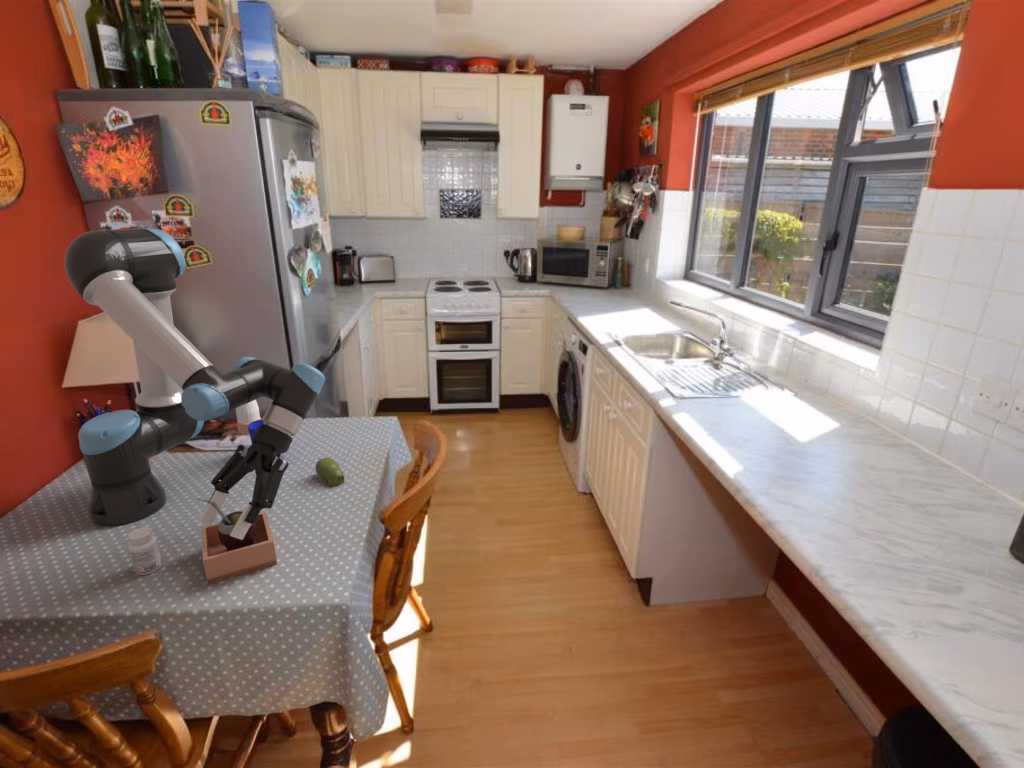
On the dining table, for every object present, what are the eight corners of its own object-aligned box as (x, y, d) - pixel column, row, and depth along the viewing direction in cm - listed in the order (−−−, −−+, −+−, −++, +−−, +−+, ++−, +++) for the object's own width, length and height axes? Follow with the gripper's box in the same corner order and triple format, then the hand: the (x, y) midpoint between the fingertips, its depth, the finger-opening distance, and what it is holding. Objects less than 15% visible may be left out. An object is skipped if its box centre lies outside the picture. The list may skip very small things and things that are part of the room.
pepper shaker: (233, 433, 169) (223, 376, 162) (247, 424, 176) (238, 369, 169) (253, 435, 168) (244, 378, 161) (267, 426, 174) (259, 371, 168)
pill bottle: (143, 560, 110) (134, 526, 107) (167, 559, 110) (159, 525, 107) (129, 576, 105) (119, 540, 102) (154, 575, 106) (145, 539, 103)
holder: (207, 584, 103) (202, 560, 102) (205, 549, 114) (201, 527, 112) (277, 563, 110) (273, 541, 108) (269, 532, 120) (265, 511, 118)
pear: (330, 451, 146) (350, 469, 140) (330, 467, 148) (349, 485, 142) (311, 458, 142) (330, 476, 136) (311, 474, 144) (331, 493, 138)
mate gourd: (266, 542, 114) (256, 482, 109) (241, 566, 107) (229, 504, 102) (236, 536, 116) (224, 477, 110) (209, 560, 109) (195, 498, 103)
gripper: (324, 448, 112) (269, 551, 104) (256, 426, 122) (202, 518, 114) (301, 434, 106) (240, 543, 98) (231, 412, 116) (172, 509, 108)
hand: (220, 529), depth 106 cm, fingers open, 9 cm apart
